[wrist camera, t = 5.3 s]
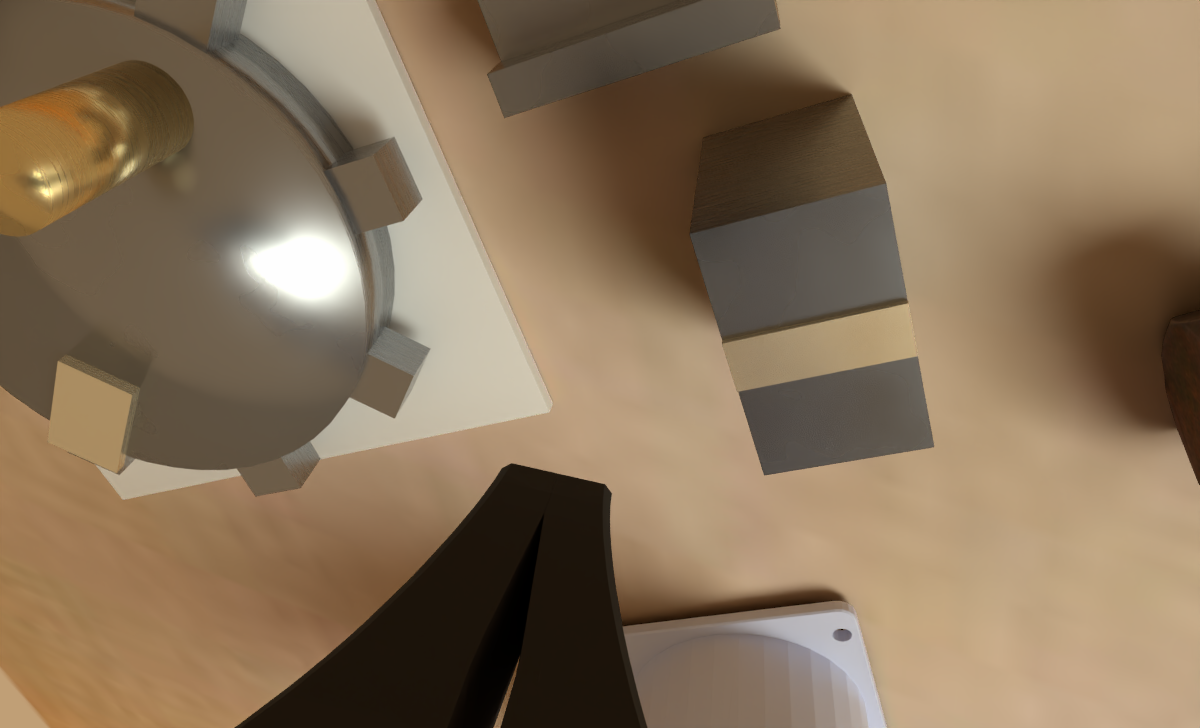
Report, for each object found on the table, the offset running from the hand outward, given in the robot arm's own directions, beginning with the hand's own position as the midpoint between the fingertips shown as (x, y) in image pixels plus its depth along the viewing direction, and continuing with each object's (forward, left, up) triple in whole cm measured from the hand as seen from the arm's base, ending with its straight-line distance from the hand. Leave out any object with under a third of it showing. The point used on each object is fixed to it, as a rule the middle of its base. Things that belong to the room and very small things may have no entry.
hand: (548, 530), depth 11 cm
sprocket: (+3, +10, -9) cm, 14 cm away
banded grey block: (-1, -4, -10) cm, 10 cm away
